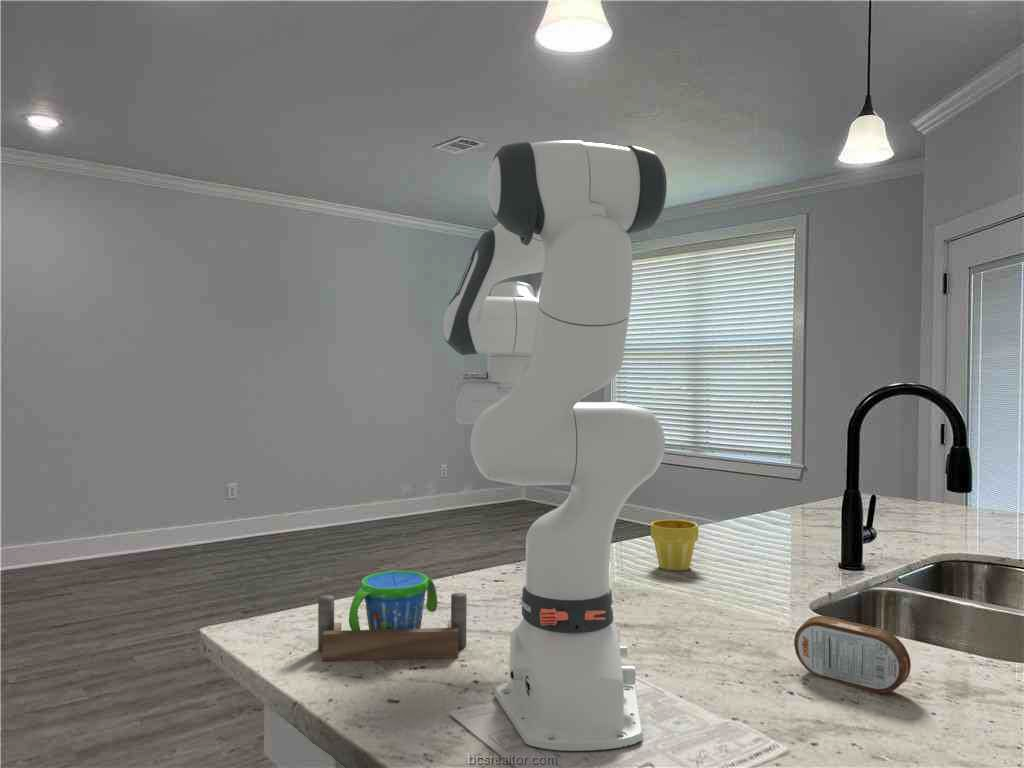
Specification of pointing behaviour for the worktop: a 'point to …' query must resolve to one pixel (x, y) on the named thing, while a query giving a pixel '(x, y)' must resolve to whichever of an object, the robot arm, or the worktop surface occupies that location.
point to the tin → (852, 654)
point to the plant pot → (674, 543)
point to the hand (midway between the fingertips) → (511, 449)
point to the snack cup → (393, 600)
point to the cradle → (390, 637)
